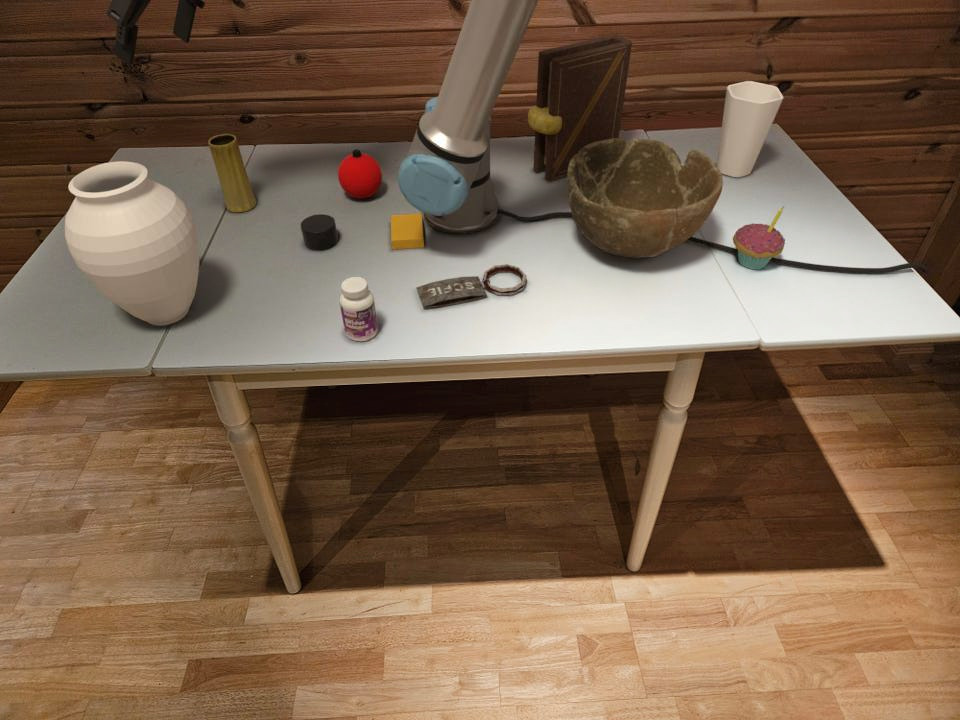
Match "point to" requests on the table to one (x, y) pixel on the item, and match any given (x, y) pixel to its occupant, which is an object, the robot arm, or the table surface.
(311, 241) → the metal tin
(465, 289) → the keychain
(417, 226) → the orange rectangular block
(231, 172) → the vase
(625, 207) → the bowl
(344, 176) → the ornament
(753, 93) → the cup
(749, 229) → the cupcake
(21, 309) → the table surface
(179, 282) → the vase
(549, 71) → the book
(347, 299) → the pill bottle
